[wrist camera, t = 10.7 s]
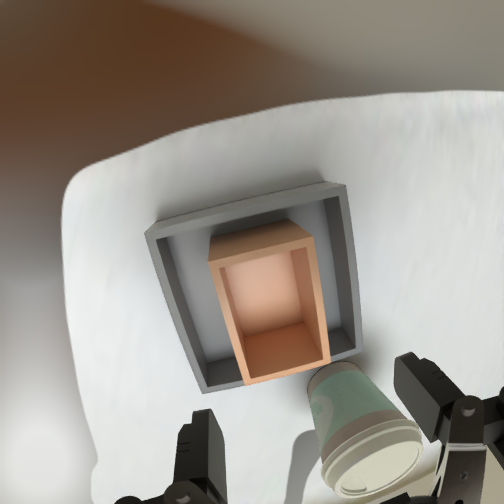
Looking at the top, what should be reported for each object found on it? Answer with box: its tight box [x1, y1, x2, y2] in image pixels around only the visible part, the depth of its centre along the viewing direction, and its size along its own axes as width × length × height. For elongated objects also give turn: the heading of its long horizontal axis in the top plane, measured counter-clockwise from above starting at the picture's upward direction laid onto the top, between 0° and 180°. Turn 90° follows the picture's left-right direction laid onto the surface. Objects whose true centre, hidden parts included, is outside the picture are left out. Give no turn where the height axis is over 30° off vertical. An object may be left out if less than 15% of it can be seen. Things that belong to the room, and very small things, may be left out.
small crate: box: [208, 219, 331, 386], centre depth 21 cm, size 6×9×6 cm, turn 13°
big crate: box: [144, 182, 363, 394], centre depth 23 cm, size 13×13×4 cm
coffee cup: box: [308, 362, 423, 498], centre depth 23 cm, size 8×8×12 cm
